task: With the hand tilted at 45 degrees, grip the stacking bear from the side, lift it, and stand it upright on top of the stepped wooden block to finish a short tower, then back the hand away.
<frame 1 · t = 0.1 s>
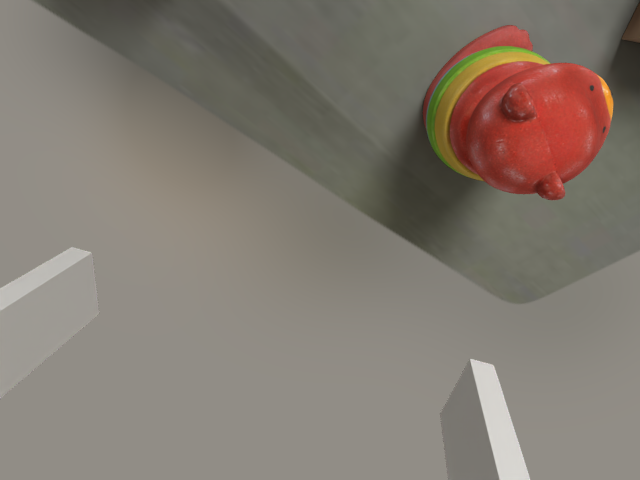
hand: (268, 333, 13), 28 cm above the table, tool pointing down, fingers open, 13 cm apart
stacking bear: (477, 105, 34), on the table
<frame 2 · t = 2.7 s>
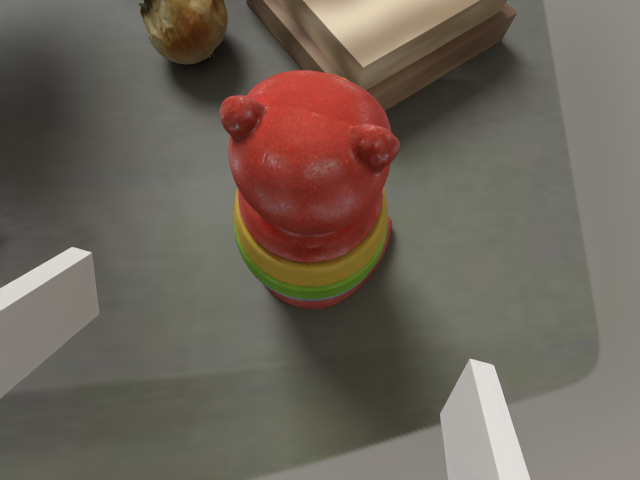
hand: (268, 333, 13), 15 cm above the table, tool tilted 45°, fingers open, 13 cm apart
onion: (196, 50, 36), on the table
stacking bear: (314, 249, 30), on the table
stepped wooden block: (372, 21, 36), on the table
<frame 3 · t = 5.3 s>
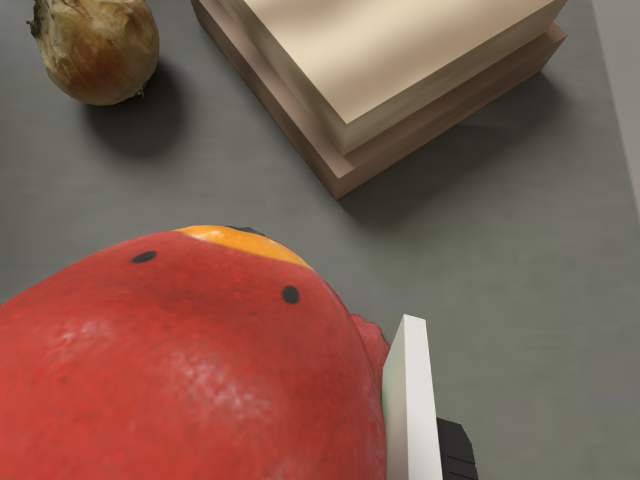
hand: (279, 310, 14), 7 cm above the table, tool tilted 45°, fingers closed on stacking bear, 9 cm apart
onion: (125, 82, 26), on the table
stacking bear: (275, 385, 20), on the table, touching gripper
stepped wooden block: (364, 43, 27), on the table
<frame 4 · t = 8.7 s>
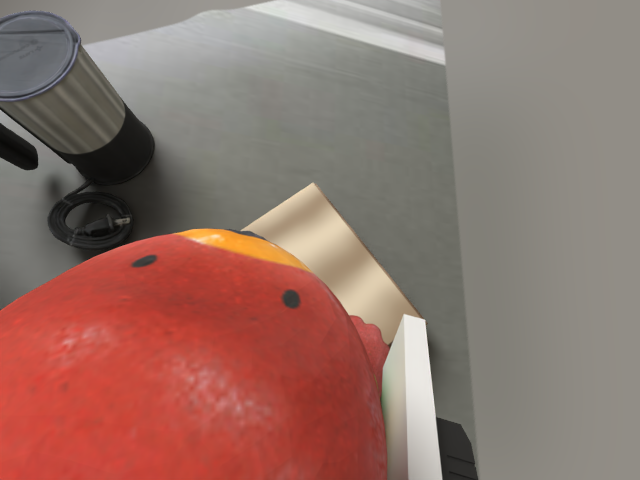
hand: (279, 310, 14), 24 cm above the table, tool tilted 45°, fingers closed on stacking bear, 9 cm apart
milk frother: (113, 182, 43), on the table
stacking bear: (275, 386, 20), point 17 cm above the table, touching gripper
stepped wooden block: (296, 306, 38), on the table
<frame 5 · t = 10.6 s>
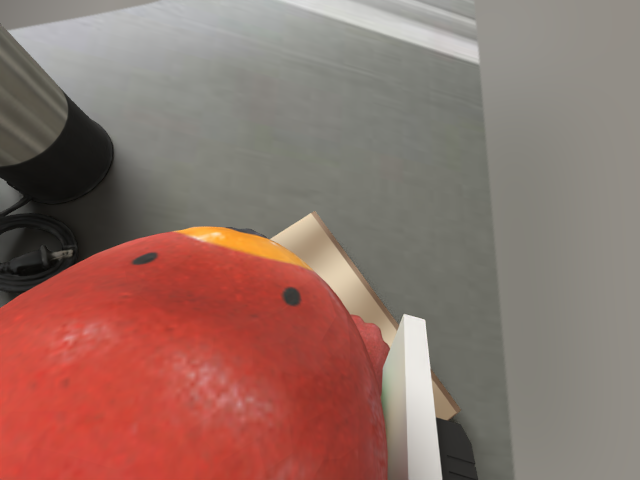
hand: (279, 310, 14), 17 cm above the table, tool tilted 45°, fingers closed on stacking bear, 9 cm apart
milk frother: (58, 200, 33), on the table
stacking bear: (275, 386, 20), point 9 cm above the table, touching gripper
stepped wooden block: (285, 372, 29), on the table
when the fingers open (15 cm above the table, at t = 11.9 s): stacking bear drops 1 cm, resting on stepped wooden block.
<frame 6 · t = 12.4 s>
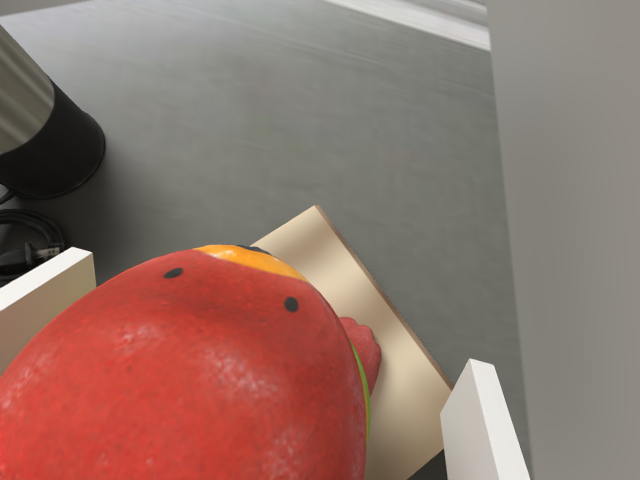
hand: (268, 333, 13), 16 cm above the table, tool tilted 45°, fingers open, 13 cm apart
milk frother: (46, 195, 31), on the table
stacking bear: (273, 383, 21), point 6 cm above the table, touching stepped wooden block
stepped wooden block: (286, 377, 27), on the table
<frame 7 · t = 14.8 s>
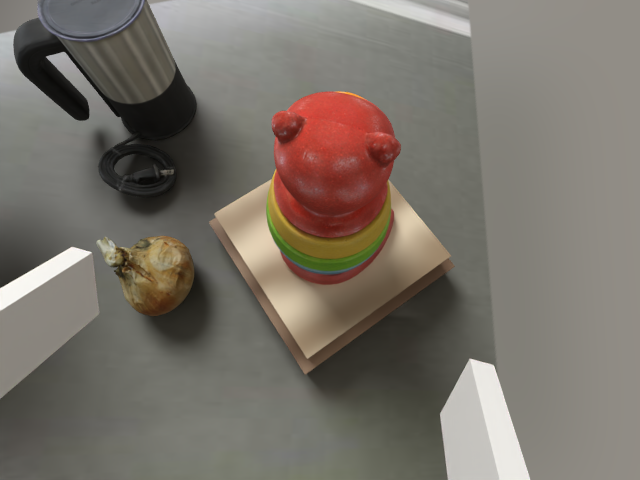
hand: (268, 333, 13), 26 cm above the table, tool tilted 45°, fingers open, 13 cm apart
milk frother: (156, 138, 45), on the table
onion: (169, 281, 39), on the table
stacking bear: (327, 235, 35), point 6 cm above the table, touching stepped wooden block
stepped wooden block: (328, 251, 40), on the table
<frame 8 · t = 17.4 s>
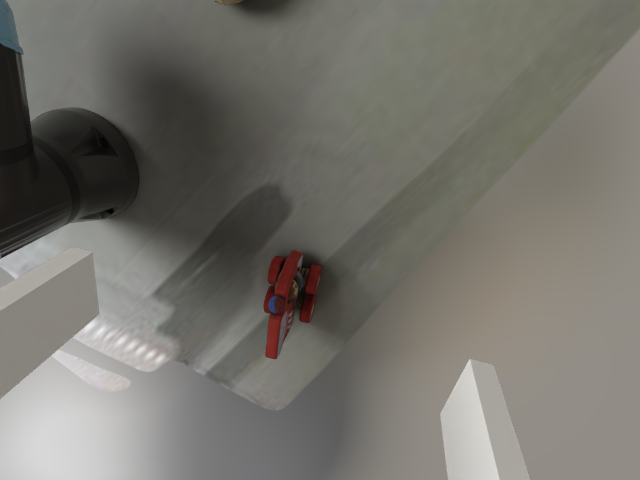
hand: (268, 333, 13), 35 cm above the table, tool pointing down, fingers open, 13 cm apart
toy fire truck: (296, 280, 54), on the table
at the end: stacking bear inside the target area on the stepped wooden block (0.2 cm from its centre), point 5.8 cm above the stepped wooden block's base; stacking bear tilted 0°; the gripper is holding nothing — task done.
